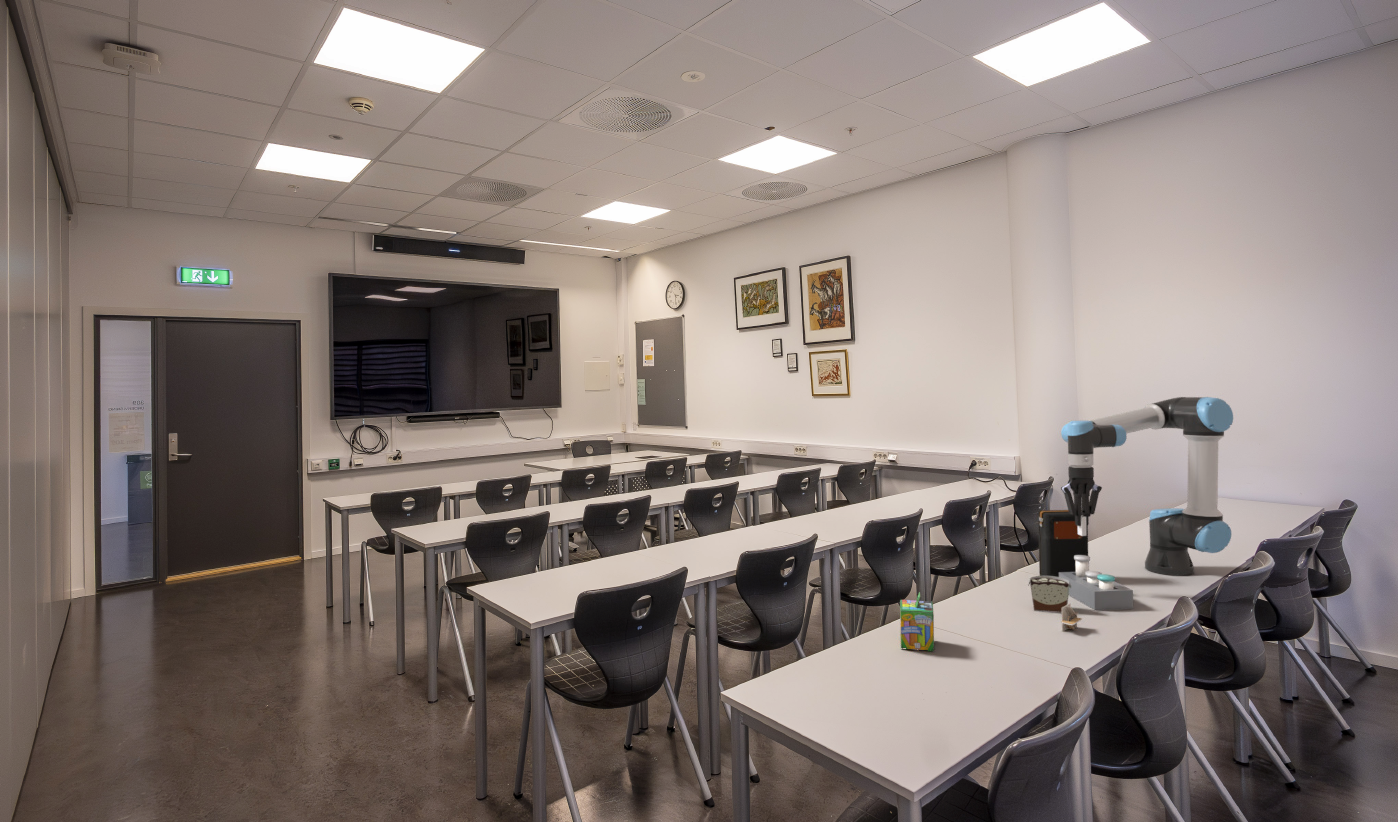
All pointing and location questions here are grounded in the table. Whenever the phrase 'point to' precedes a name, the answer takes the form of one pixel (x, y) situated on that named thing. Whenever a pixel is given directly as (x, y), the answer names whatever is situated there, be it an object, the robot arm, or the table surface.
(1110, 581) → the teal plug
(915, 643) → the chalk box
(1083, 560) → the grey plug end
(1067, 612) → the architectural model
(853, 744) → the table surface
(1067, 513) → the voltmeter
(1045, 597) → the food container
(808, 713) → the table surface
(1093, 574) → the grey plug middle
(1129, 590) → the panel
